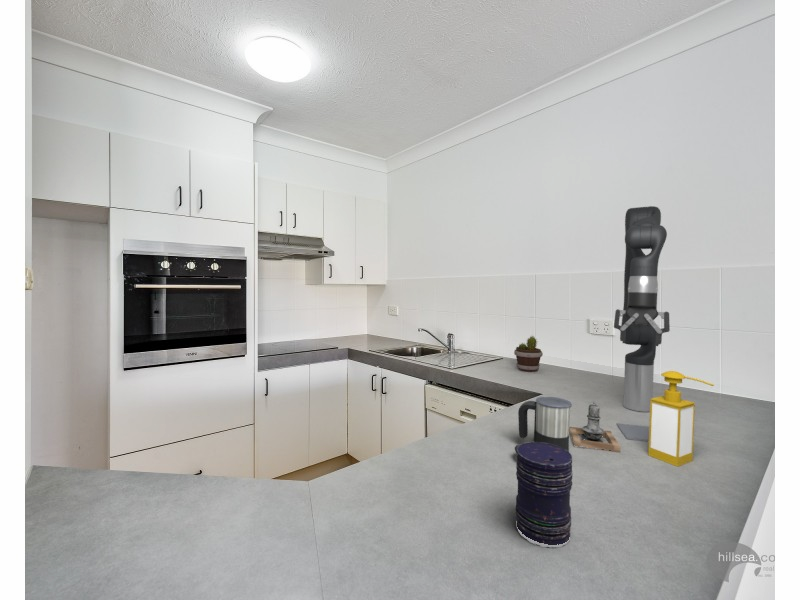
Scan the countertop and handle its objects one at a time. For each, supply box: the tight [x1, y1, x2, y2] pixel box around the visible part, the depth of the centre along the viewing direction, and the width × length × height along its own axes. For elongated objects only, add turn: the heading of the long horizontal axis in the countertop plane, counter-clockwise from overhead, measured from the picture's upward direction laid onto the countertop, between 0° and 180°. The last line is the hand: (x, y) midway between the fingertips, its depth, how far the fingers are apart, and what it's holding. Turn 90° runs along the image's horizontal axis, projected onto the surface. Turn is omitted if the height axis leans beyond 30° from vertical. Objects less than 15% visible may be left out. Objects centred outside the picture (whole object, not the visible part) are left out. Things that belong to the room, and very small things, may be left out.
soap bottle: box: [647, 370, 715, 467], centre depth 98 cm, size 7×13×24 cm, turn 27°
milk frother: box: [514, 395, 573, 454], centre depth 101 cm, size 14×16×15 cm
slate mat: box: [616, 422, 649, 442], centre depth 118 cm, size 12×12×1 cm
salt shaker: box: [581, 401, 606, 442], centre depth 112 cm, size 6×6×12 cm
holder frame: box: [569, 426, 622, 453], centre depth 112 cm, size 12×12×2 cm
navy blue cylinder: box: [514, 441, 573, 545], centre depth 71 cm, size 10×10×15 cm
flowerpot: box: [513, 334, 543, 373], centre depth 205 cm, size 14×15×20 cm
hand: (639, 344), depth 115 cm, fingers open, 8 cm apart
